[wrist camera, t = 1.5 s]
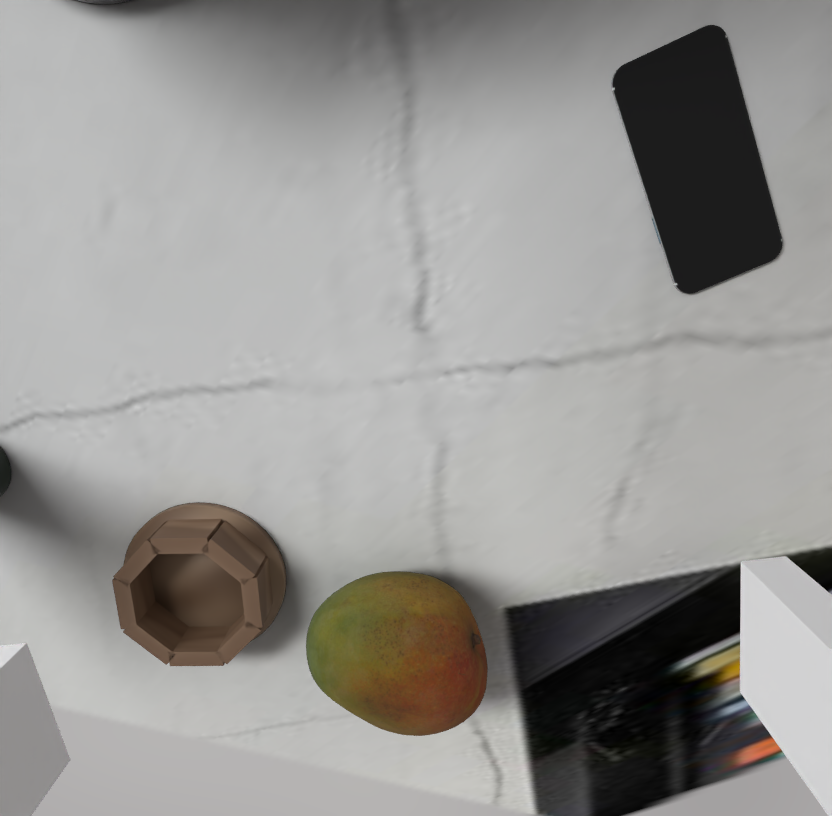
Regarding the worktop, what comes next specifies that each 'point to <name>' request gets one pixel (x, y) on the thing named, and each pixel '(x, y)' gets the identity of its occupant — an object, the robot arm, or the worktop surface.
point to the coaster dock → (199, 584)
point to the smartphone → (698, 159)
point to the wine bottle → (4, 472)
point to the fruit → (399, 653)
